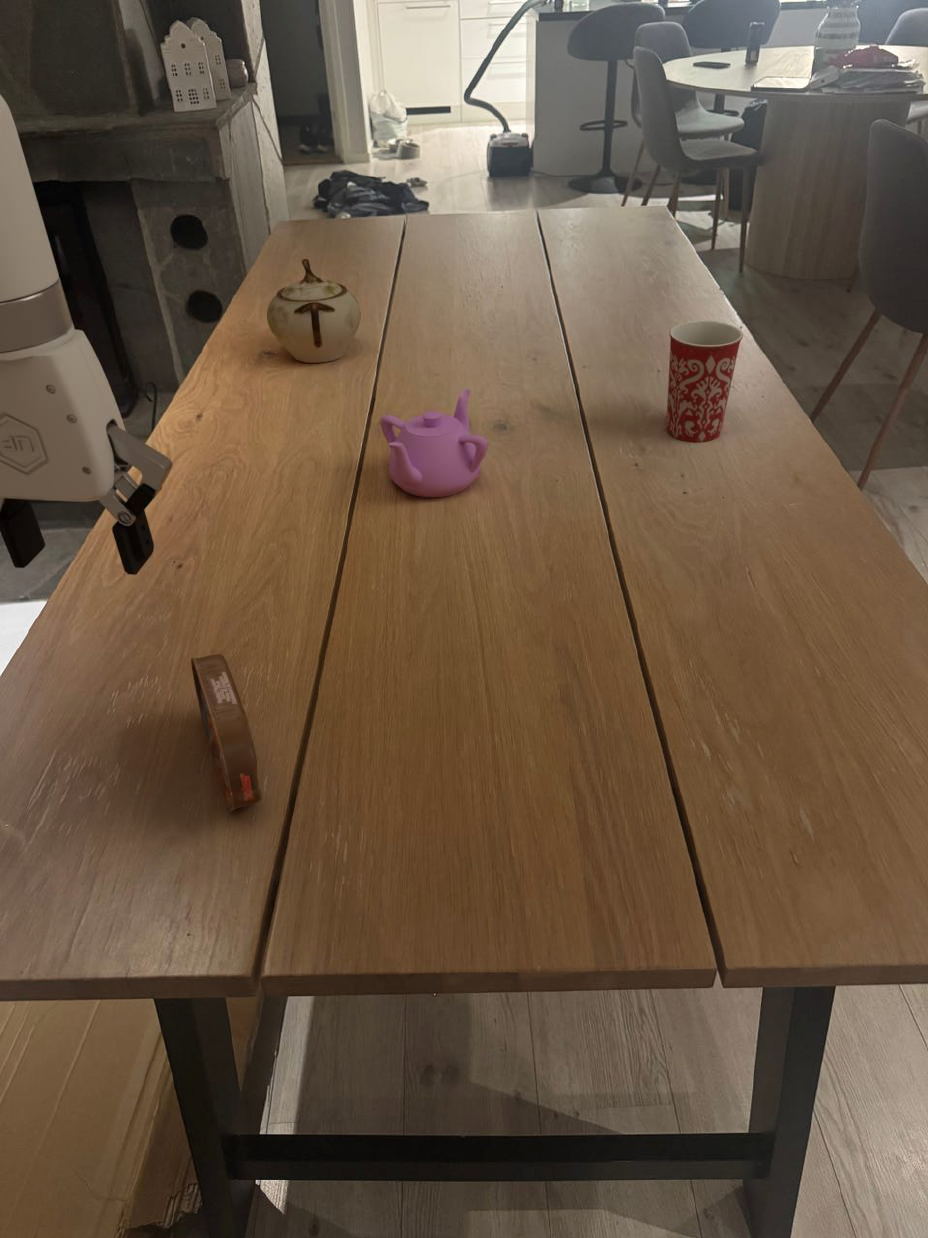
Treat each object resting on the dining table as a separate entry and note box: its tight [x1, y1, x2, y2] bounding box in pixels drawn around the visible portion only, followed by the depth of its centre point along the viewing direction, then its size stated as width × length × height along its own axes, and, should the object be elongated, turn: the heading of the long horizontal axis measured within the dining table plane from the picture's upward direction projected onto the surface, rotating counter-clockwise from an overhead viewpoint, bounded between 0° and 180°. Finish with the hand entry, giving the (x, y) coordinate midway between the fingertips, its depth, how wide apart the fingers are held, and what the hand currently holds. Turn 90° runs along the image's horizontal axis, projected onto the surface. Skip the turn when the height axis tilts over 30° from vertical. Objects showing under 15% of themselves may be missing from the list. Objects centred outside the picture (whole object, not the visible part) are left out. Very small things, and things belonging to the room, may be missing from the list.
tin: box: [190, 653, 263, 812], centre depth 75 cm, size 15×3×8 cm, turn 23°
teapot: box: [380, 389, 489, 498], centre depth 114 cm, size 12×14×9 cm
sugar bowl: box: [266, 258, 362, 364], centre depth 148 cm, size 20×15×15 cm
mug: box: [665, 320, 744, 443], centre depth 122 cm, size 13×9×14 cm
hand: (84, 559), depth 67 cm, fingers open, 7 cm apart
